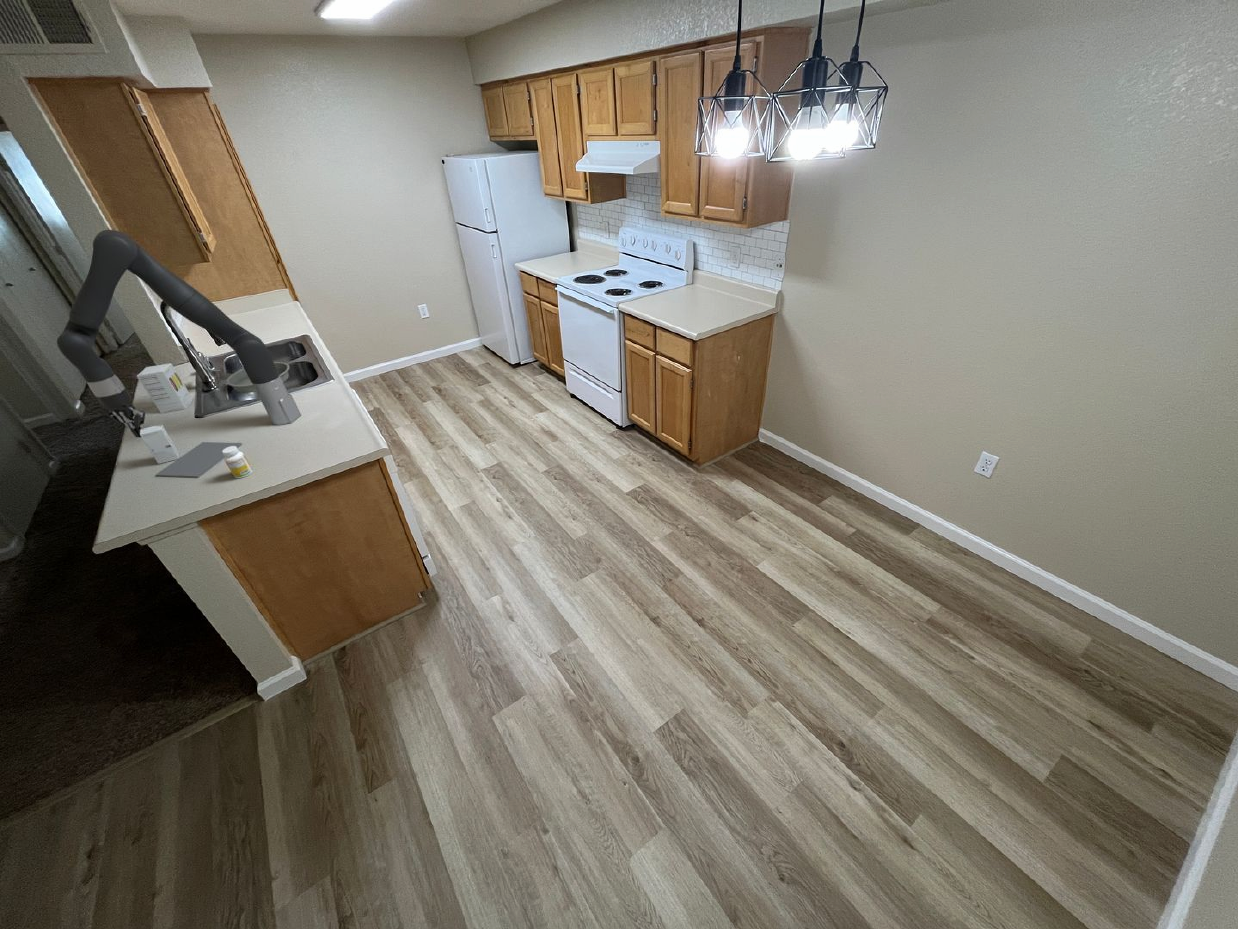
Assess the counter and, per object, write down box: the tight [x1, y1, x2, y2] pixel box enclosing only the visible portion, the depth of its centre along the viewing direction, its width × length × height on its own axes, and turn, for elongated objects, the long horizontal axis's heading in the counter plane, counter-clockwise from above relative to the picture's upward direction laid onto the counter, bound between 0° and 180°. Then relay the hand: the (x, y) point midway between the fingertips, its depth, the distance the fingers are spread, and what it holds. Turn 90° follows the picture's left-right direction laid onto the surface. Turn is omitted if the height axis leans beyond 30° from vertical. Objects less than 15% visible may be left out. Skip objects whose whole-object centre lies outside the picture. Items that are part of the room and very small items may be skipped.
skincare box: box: [140, 424, 180, 465], centre depth 174 cm, size 6×4×12 cm
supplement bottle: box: [222, 446, 254, 479], centre depth 165 cm, size 5×5×10 cm
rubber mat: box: [155, 441, 243, 479], centre depth 176 cm, size 16×20×1 cm
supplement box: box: [136, 363, 194, 414], centre depth 207 cm, size 10×9×17 cm
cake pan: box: [226, 361, 290, 394], centre depth 226 cm, size 25×25×4 cm
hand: (141, 436), depth 173 cm, fingers closed
